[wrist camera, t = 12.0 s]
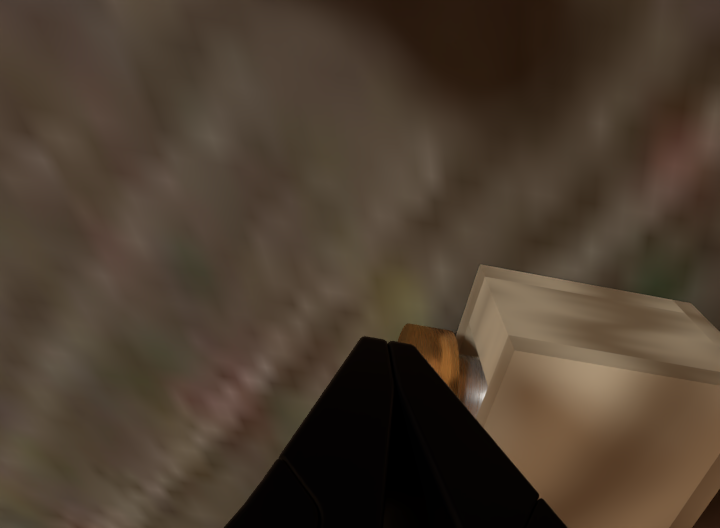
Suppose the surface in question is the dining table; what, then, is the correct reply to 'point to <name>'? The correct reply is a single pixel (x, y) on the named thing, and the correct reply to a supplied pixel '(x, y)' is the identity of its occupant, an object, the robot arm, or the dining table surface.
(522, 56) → the dining table surface
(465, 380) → the knob inner
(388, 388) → the robot arm
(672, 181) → the dining table surface
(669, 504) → the beech block
